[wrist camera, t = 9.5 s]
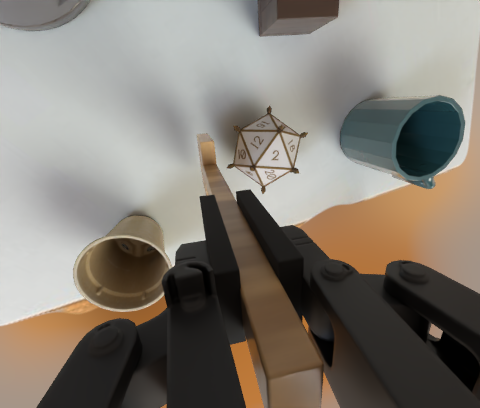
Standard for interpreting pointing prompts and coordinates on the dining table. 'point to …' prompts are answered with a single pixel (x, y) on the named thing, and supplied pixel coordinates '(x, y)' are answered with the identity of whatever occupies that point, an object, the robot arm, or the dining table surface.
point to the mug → (404, 136)
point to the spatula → (265, 307)
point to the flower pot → (124, 266)
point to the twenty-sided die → (266, 149)
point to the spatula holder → (294, 16)
